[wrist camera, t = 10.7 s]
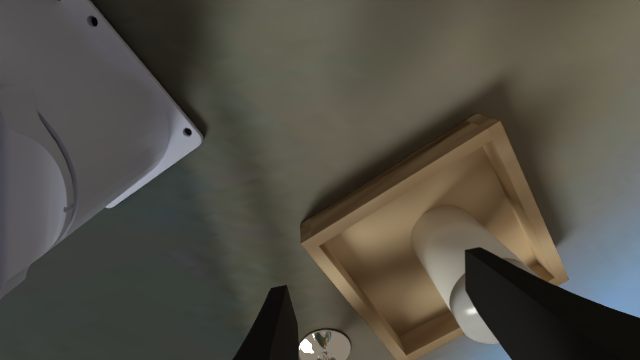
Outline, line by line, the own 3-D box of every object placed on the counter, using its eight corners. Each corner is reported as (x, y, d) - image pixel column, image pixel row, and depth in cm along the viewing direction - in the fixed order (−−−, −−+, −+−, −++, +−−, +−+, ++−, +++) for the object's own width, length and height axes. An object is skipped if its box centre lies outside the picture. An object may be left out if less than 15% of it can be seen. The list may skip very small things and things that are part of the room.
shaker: (410, 209, 21) (461, 277, 15) (477, 201, 21) (557, 264, 15) (410, 265, 23) (455, 348, 16) (471, 258, 23) (541, 337, 16)
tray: (300, 224, 22) (300, 243, 19) (476, 113, 20) (500, 120, 17) (392, 339, 26) (401, 366, 24) (543, 258, 24) (569, 279, 22)
